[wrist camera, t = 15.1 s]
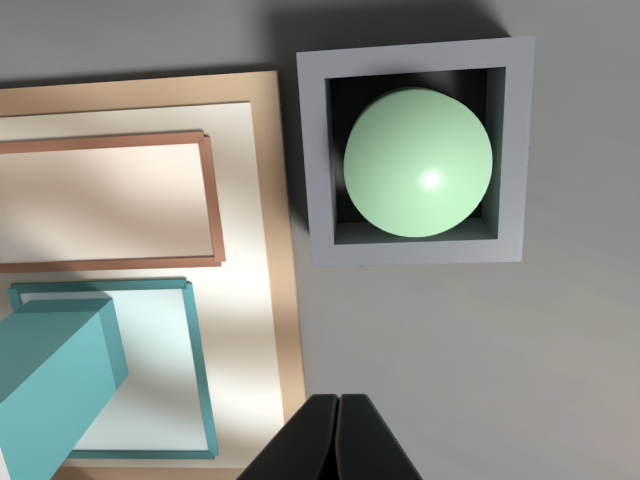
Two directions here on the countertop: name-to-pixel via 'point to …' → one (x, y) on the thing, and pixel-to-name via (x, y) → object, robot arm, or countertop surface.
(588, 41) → the countertop surface
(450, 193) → the button
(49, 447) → the teal white tall block
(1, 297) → the colouring board
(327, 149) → the button pad
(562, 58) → the countertop surface
